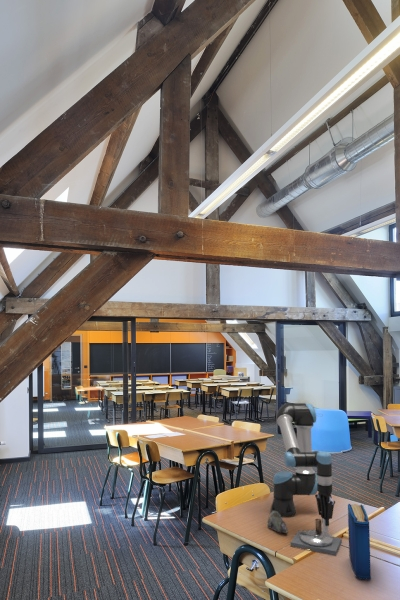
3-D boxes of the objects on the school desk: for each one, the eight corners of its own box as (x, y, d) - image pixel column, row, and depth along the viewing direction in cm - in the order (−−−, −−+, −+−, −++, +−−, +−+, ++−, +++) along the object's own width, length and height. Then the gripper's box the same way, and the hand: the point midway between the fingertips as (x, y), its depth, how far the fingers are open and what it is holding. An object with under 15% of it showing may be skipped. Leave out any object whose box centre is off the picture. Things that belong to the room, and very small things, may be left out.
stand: (298, 534, 235) (298, 529, 235) (341, 542, 225) (341, 537, 225) (290, 546, 219) (290, 541, 220) (335, 555, 210) (335, 550, 210)
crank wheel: (304, 530, 233) (303, 515, 234) (335, 536, 226) (334, 521, 227) (296, 542, 219) (296, 526, 220) (329, 549, 212) (329, 532, 213)
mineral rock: (288, 536, 231) (288, 516, 232) (267, 535, 232) (267, 515, 234) (286, 527, 244) (286, 508, 245) (267, 526, 245) (267, 507, 246)
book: (373, 582, 186) (370, 520, 188) (355, 580, 187) (353, 519, 190) (364, 559, 207) (362, 503, 209) (348, 557, 208) (347, 502, 211)
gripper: (339, 486, 224) (340, 535, 221) (321, 479, 235) (322, 525, 233) (327, 488, 220) (328, 537, 218) (310, 481, 232) (311, 528, 230)
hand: (325, 531), depth 225 cm, fingers closed
